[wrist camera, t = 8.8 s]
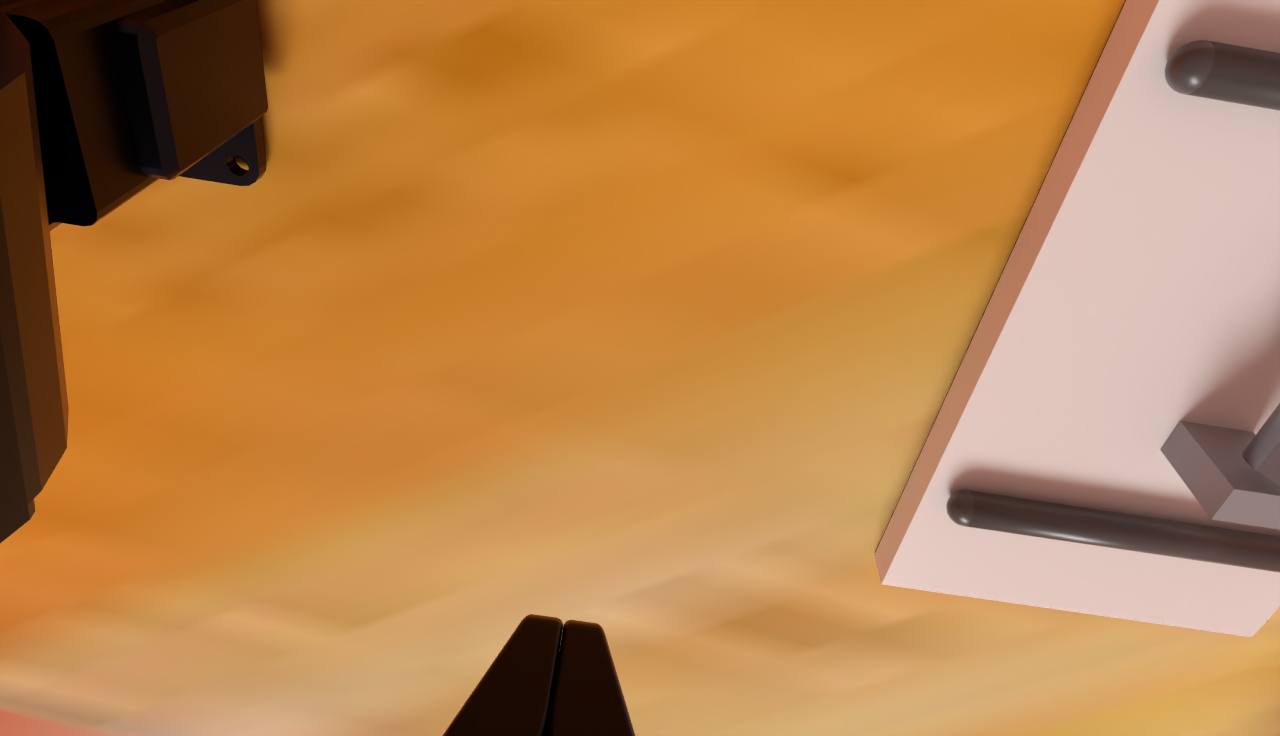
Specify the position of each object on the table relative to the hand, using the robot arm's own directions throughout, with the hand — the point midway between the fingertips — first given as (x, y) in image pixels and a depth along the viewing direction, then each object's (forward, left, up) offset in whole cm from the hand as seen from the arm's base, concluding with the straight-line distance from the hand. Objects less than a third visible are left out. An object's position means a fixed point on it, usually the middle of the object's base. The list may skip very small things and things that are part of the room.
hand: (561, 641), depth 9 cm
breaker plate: (+16, -1, -13) cm, 21 cm away
